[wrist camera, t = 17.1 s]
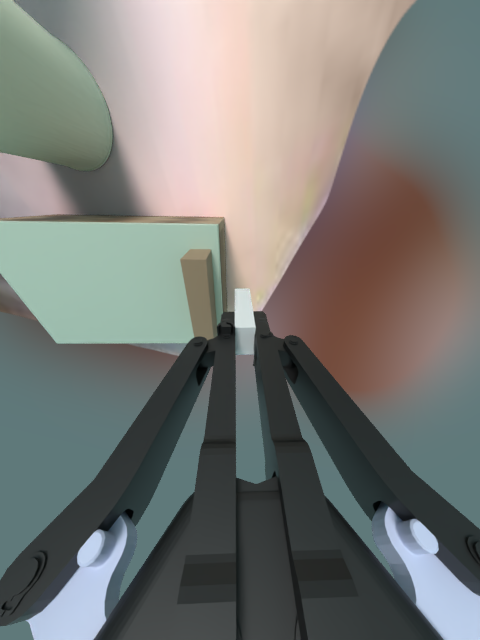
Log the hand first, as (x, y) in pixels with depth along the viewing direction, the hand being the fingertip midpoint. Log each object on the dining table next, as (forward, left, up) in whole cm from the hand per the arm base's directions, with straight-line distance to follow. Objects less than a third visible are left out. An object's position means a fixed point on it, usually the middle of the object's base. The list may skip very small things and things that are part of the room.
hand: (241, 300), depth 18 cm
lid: (-13, 0, -2) cm, 14 cm away
